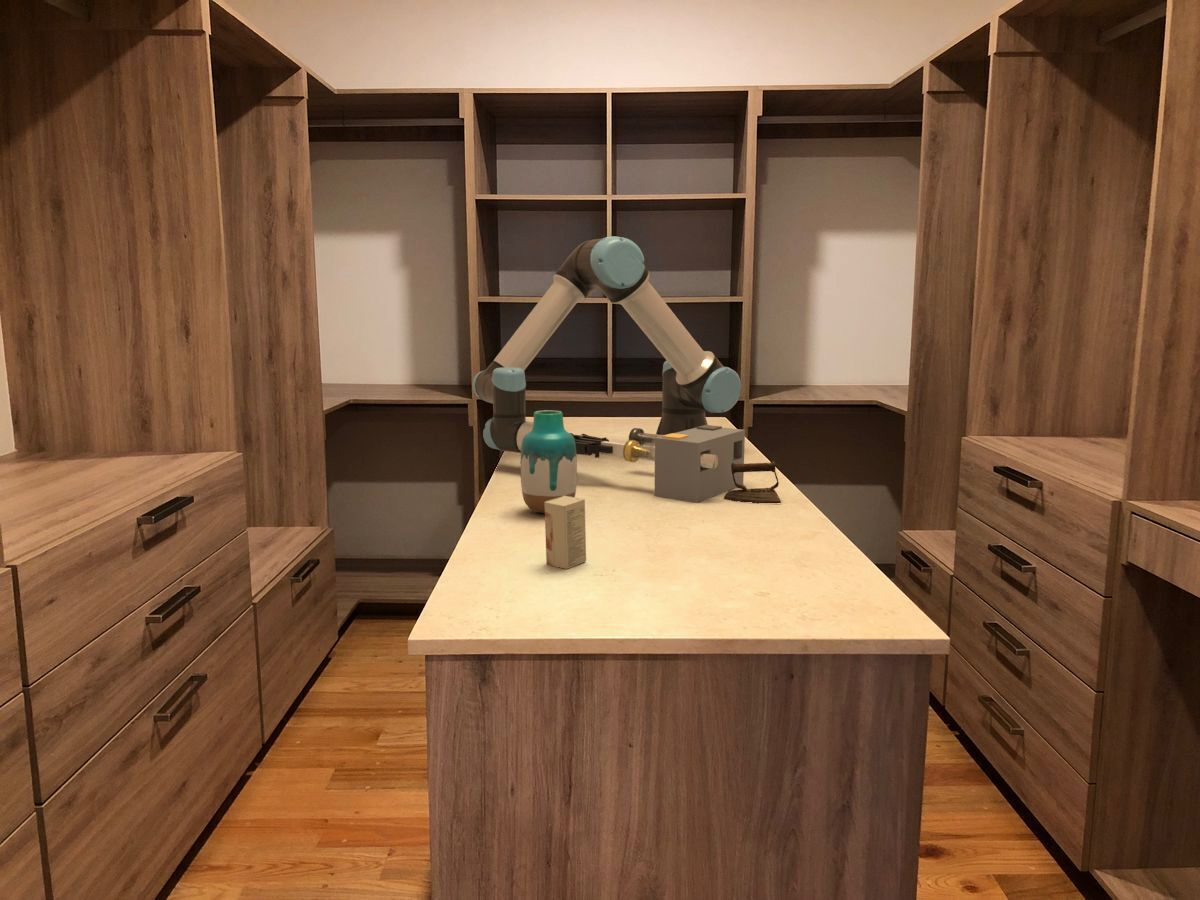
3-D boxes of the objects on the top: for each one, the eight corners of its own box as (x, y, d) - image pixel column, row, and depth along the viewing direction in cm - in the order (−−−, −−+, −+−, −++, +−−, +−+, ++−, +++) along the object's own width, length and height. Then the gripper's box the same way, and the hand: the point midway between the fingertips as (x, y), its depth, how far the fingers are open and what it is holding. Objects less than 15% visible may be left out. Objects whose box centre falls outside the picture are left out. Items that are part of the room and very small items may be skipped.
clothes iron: (785, 506, 174) (775, 459, 172) (728, 518, 176) (718, 472, 173) (780, 495, 181) (770, 449, 179) (725, 506, 183) (715, 461, 180)
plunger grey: (639, 446, 205) (639, 426, 204) (717, 456, 193) (718, 435, 192) (628, 449, 201) (628, 429, 200) (707, 459, 190) (707, 438, 189)
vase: (580, 506, 173) (580, 408, 169) (573, 519, 162) (572, 416, 159) (526, 504, 174) (525, 407, 170) (516, 518, 163) (514, 415, 160)
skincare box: (566, 556, 140) (565, 494, 139) (587, 561, 138) (587, 498, 136) (543, 564, 136) (543, 500, 135) (565, 570, 134) (564, 505, 132)
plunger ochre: (635, 459, 189) (635, 438, 188) (720, 471, 177) (720, 448, 177) (623, 463, 186) (623, 441, 185) (708, 475, 174) (709, 452, 173)
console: (702, 478, 197) (703, 423, 195) (743, 484, 191) (745, 428, 189) (654, 495, 181) (655, 436, 179) (697, 502, 175) (698, 441, 173)
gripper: (559, 451, 206) (644, 463, 193) (523, 460, 196) (609, 473, 182) (559, 419, 205) (644, 429, 191) (522, 426, 195) (609, 437, 181)
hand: (627, 451), depth 187 cm, fingers closed
